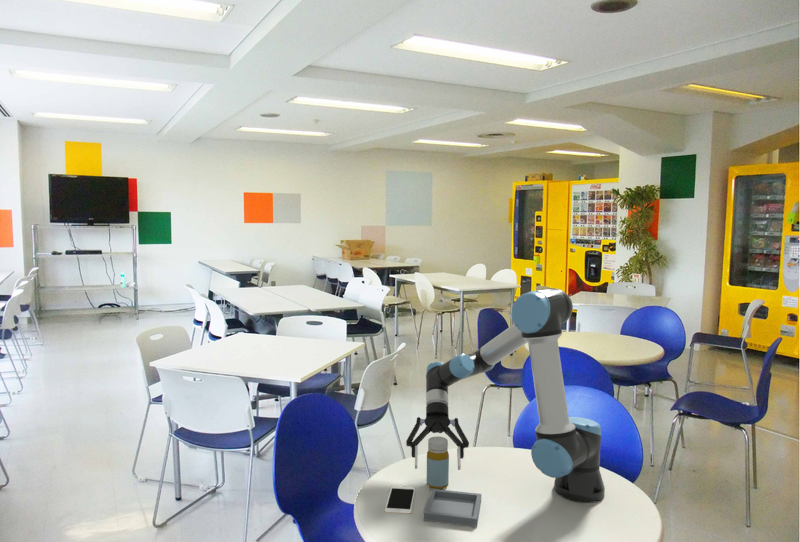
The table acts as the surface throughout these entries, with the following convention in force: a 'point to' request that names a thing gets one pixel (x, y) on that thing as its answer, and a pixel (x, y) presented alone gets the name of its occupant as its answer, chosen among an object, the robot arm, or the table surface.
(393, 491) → the cell phone
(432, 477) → the bottle
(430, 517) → the tray
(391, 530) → the table surface
